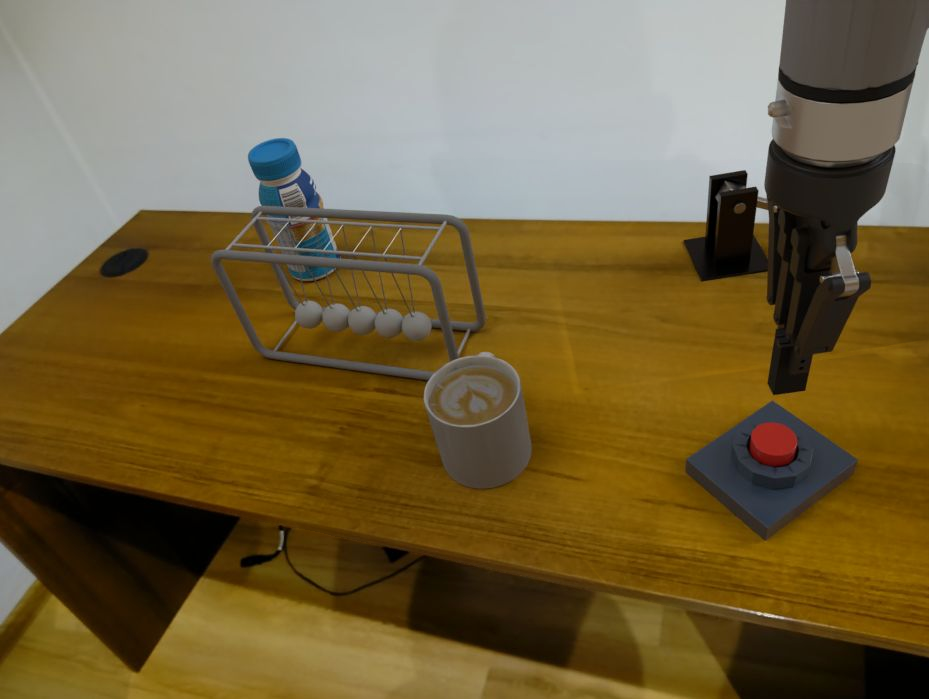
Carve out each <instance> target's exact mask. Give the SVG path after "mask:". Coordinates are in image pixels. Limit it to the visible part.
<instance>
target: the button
mask: <svg viewBox="0 0 929 699" xmlns="http://www.w3.org/2000/svg"><path fill="white" fill-rule="evenodd" d="M796 447H797V437H796V435H795V434H794V432H793V431H792V430H791V429H789V428H788V427H786V426H784V425H782V424H779V423H763V424H761V425H759V426H757V427H756V428H755V429H754V430H753V432H752V434H751V440H750V452H751V454H752V456H753V457H754V458H755V459H756V460H757V461H758V462H760V463H762V464H764V465H767V466H771V467H780V466H784V465H787V464H788V463H790V462H791V461H792V460H793V458H794V456H795V452H796Z"/></svg>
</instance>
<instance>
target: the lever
mask: <svg viewBox="0 0 929 699" xmlns="http://www.w3.org/2000/svg"><path fill="white" fill-rule="evenodd" d="M744 188H747V186H746V187H745V186H744V185H740V184H736V183H732V182H728V181H724V182H723V184H722V186H721V188H720V189H719V191H718V193H717V195H716V196H715V197H716V199H717V201H718V198H719V192H725V191H731V190H738V189H744ZM757 208H758V209H761V210H766V211H768V202H767V197H761V196H758V200H757ZM757 208H756V209H757Z"/></svg>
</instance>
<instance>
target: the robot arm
mask: <svg viewBox="0 0 929 699" xmlns="http://www.w3.org/2000/svg"><path fill="white" fill-rule="evenodd" d="M783 16H784V17H783V26H782V37H781V44H780V48H781V49H780V56H779V64H778V73H777V74H778V75H777V82H776V91H775V101H772V102H769V104H768V105H767V115H768V116H769V117H770V118H772V123H771V131H770V132H771V138H772V139H771V140H770V142H769V145H768V150H767V159H766V166H765V174H764V182H763V183H764V184H763V186H764V192H765V194H766V196H765V198H766V199H767V202H768V210H767V211H768V212H767V213H768V240H767V241H768V242H767V244H768V245H767V258H768V271H767V274H766V275H767V278H766V279H767V281H766V302H767V303H768V305H769V306H774V309H773V314H772V315H773V321H774V324H775V325H776V326H777V327H776V328H775V333H774V339H773V345H772V352H771V358H770V362H769V363H770V364H769V370H768V376H767V385H768V388H769V390H770V392H771V394H772V395H773V396H777V395H779V396H780V395H787V394H792V393H793V394H794V393H800V392H805V391H806V389H807V384H808V380H809V375H810V371H811V365H812V361H813V356H814V355H818V354H824V353H831V352H833V351H834V349H835V348H836V345H837V343H838V340H839V339H840V336H841V335H842V333H843V331H844V328H845V326H846V324H847V322H848V321H849V320H848V319H849V318H850V316H851V314H852V312H853V311H854V307H855V306H856V304H857V302H858V300H859V297H861V296H862V295H863V294H865V293H866V292H868V291H869V290H870V289H871V287H872V277H871V275H870V274H869V272H867V271H862V272H859V270H857V269H855V265H854V260H853V258H852V253H854V251H855V250H856V249H857V246H858V238H859V237H858V225H859V223H858V222H859V220H860V219H861V218H862V217H863V216H864V215H866V213H868V212H869V211H870V210H872V209H873V208H874V207H875V206H876V205H878V204H879V203H880V202H881V200H882V199H883V198H884V196H885V194H886V190H887V187H888V184H889V180H890V176H891V172H892V168H893V165H894V164H893V163H894V160H895V156H896V144H897V143H898V142H899V141H900V139H901V135H902V132H903V126H904V122H905V119H906V114H907V110H908V105H909V101H910V97H911V93H912V88H913V85H914V81H915V77H916V71H917V67H918V65H919V60H920V56H921V52H922V49H923V45H924V41H925V38H926V36H927V32H928V30H929V0H785V6H784V15H783Z"/></svg>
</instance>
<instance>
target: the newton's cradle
mask: <svg viewBox="0 0 929 699" xmlns="http://www.w3.org/2000/svg"><path fill="white" fill-rule="evenodd" d="M250 214H251V216H250V218H251V221H249V223H247V225H246V226H245V227H244V228H243V229H242V230H241V231H240V232H239V233H238V235H237V236H236V237H235V238H234V239H233V240H232V242H230V243H229V245H227V247H226V248H225V249H218V250H215V251H214V252H213V253H212V254H211V256H210V265H211V267H212V269H213V271H214V273H215V275H216V277H217V279H218V281H219V283H220V285H221V287H222V289H223V290H224V292H225V295H226V297H227V299H228V300H229V303H230V304H231V306H232V308H233V310H234V313H235V315H237V318H238V320H239V322H240V325H241V326H242V328H243V331H244V332H245V335H246V336H247V338H248V340H249V342H250V344H251V346H252V347H253V349H254V350H255V351H256V352H257V353H258V354H260V355H261V356H263V357H264V358H266V359H270V360H277V361H284V362H291V363H299V364H305V365H313V366H320V367H328V368H334V369H342V370H350V371H356V372H364V373H371V374H376V375H377V374H378V375H385V376H393V377H399V378H406V379H414V380H421V381H427V382H428V381H429V379H430V378H431V376H432V375H433V374H434V373H435V372H436V371H429V370H422V369H416V368H415V369H414V368H406V367H398V366H391V365H385V364H377V363H368V362H360V361H353V360H347V359H337V358H331V357H324V356H317V355H310V354H309V355H308V354H300V353H294V352H285V351H279V349H280V348H281V346H282V345H283V343H284V342H285V340H287V338H288V336H289V335H290V334H291V332H292V331H293V329H294V328H295V326H296V325H297V324H298V325H299V326H300V327H301V328H304V329H308V330H313V329H315V328H317V327H319V326H320V325H321V324H322V323H323V325H324V327H325V328H326V329H328V331H330V332H334V333H341V332H343V331H346V329H348V328H350V330H351V331H352V332H353V333H355V334H356V335H358V336H359V335H360V336H366V335H369V334H371V333H373V332H374V330H375V331H376V333H377V334H378V335H379V336H381V338H382V337H383V338H386V339H393V338H396V337H399V335H400V334H401V333H403V335H404V336H405V338H407V340H409V341H412V342H422V341H424V340H426V339H427V338H428V337H429V336H430V334H431V332H432V328H435V329H441V331H442V336H443V340H444V342H445V344H444V345H445V347H446V351H447V355H448V358H449V359H448V360H449V362H451V361H453V360H456V359H459V358H460V354H461V353H462V350H463V348H464V346H465V344H466V341H467V339H468V337H469V335H470V333H471V332H478V331H481V330H482V329H483V328H484V327H485V325H486V323H487V316H486V312H485V305H484V302H483V296H482V291H481V286H480V281H479V276H478V271H477V266H476V265H477V264H476V261H475V256H474V251H473V250H474V249H473V244H472V241H471V240H472V239H471V236H470V231H469V229H468V226H467V225H466V223H465V222H464V221H463V220H461V219H460V218H459V217H457V216H455V215H453V214H452V215H451V214H444V213H443V214H442V213H422V212H403V211H402V212H401V211H383V210H381V211H379V210H362V209H361V210H360V209H359V210H358V209H340V208H324V209H321V208H300V207H280V206H262V205H258V206H256V207H255V208H253V210H252V212H251V213H250ZM265 215H278V216H297V217H315V218H327V219H333V220H328V221H322V220H303V219H285V218H267V217H265ZM334 219H335V220H334ZM336 219H337V221H336ZM339 220H340V221H339ZM341 220H353V221H341ZM358 220H359V221H371V222H354V221H358ZM262 221H266V222H267V221H281V222H287V224H288V227H289V232H290V236H291V240H292V245H293V248H290V247H279V246H277V245H276V246H273V244H272V243H273V242H274V240H276V237H277V235H278V234H279V233H280V232H281V231H282V230H283V228H284V227H285V226H286V225H287V224H286V225H285V226H284V227H283V228H282V229H281V231H280V232H279V233H278V234H277V235H276V237H275V236H274V238H273V239H272V240H270V238H269V235H268V233H267V230H266V228H265V226H264V224H263V222H262ZM372 221H374V223H373V222H372ZM289 222H299V223H315V224H314V225H315V230H316V234H317V238H318V242H319V247H320V250H318V249H304V248H296V247H297V246H298V245H299V244H300V242H301V241H302V240H303V239H304V237H305V236H306V235H307V234H308V232H309V231H310V230H311V229H312V228H313V226H314V225H313V226H312V227H311V229H310V230H309V231H308V232H307V234H306V235H305V236H304V237H303V239H302V240H301V241H300V242H299V244H298V245H297V246H296V247H295V248H294V243H293V239H292V235H291V230H290V226H289ZM375 222H393V223H394V224H393V223H392V224H390V223H375ZM395 223H407V224H395ZM408 223H409V225H408ZM410 223H412V224H429V225H430V226H428V225H427V226H426V225H410ZM316 224H329V225H333V226H334V225H337V226H340V228H339V229H338V230H337V232H336V233H335V234H334V235H333V238H334V239H335V237H336V236H337V235H338V233H339V232H340V230H341V229H342V234H343V239H344V243H345V247H346V251H345V250H339V251H332V250H325V249H326V247H327V246H328V245H329V243H330V242H331V241H332V239H333V238H332V239H331V241H330V242H329V243H328V245H327V246H326V247H325V248H324V250H322V249H321V245H320V241H319V237H318V232H317V228H316ZM431 224H432V225H440V226H431ZM252 226H253V228H254V229H255V232H256V234H257V236H258V238H259V241H260V243H261V244H249V243H248V244H247V243H237V242H238V241H239V240H240V239H242V237H243V236H244V234H246V233H247V232H248V230H250V228H251V227H252ZM344 226H350V227H351V226H352V227H353V226H354V227H369V228H368V230H367V231H366V232H365V234H364V235H363V237H362V238H361V240H359V243H358V244H357V245H356V247H355V248H354V249H353V251H349V246H348V241H347V237H346V232H345V228H344ZM446 226H451V227H453V228H454V229H456V230H457V232H458V234H459V240H460V243H461V248H462V254H463V258H464V264H465V267H466V272H467V277H468V282H469V287H470V292H471V297H472V300H473V306H474V310H475V315H476V321H475V322H467V321H455V320H451V319H450V315H449V310H448V307H447V302H446V299H445V294H444V290H443V287H442V283H441V280H440V278H439V276H438V275H437V274H436V273H435V271H434V270H432V269H431V268H429V267H427V266H425V265H423V264H424V262H425V261H426V259H427V258H428V256H429V254H430V252H431V251H432V249H433V247H434V245H435V244H436V242H437V241H438V239H439V237H440V236H441V234H442V233H443V231H444V229H445V227H446ZM373 228H385V229H387V228H388V229H398V230H397V232H396V234H395V235H394V237H393V239H392V240H391V241H390V243H389V245H388V246H387V247H386V249H385V251H384V252H383V253H377V248H376V247H377V246H376V242H375V236H374V232H373ZM402 229H405V230H406V229H407V230H423V231H424V230H426V231H437V232H436V233H435V236H433V239H432V240H431V242H430V244H429V245H428V247H427V248H426V250H425V251H424V254H423V255H422V256H413V255H406V250H405V244H404V238H403V232H402ZM369 232H371V238H372V244H373V248H374V253H371V252H359V251H356V250H357V248H358V247H359V246H360V244H361V243H362V241H363V240H364V239H365V237H366V236H367V234H368V233H369ZM399 233H400V238H401V245H402V251H403V255H400V254H399V255H398V254H386V252H387V251H388V249H390V246H391V245H392V243H393V242H394V240H395V239H396V237H397V236H398V234H399ZM232 248H246V249H258V250H259V249H260V250H264V252H260V251H247V250H246V251H245V250H235V249H234V250H232ZM281 250H285V251H294V253H295V255H287V254H282V253H276V252H275V251H281ZM295 251H297V253H298V255H296V252H295ZM299 252H312V253H321V255H322V257H313V256H301V255H300V254H299ZM322 253H325V255H326V256H327V254H339V255H340V256H348V258H341V259H340V258H329V257H328V256H327V258H326V257H323V254H322ZM351 256H353V257H354V258H355V259H353V258H352V259H351ZM358 257H368V258H375V260H366V259H365V260H364V259H358ZM378 258H379V259H381V258H383V259H384V261H379V259H378ZM388 259H394V260H404V262H389V261H388ZM221 260H228V261H240V262H241V261H243V262H252V263H266V264H270V266H271V268H272V271H273V272H274V275H275V277H276V279H277V280H276V281H277V282H278V284H279V287H280V289H281V291H282V293H283V295H284V298H285V300H286V302H287V304H288V305H289V306H290V307H291V308H292V309H294V319H295V320H294V322H293V323H292V324H291V326H290V327H289V328H288V329H287V331H286V333H285V334H284V336H283V337H282V338H281V339H280V341H279V342H278V343H277V345H276V346H275V347H274V349H273V350H272V349H269V348H267V347H266V346H264V345H263V344H262V342H261V340H260V338H259V336H258V334H257V332H256V330H255V328H254V326H253V324H252V323H251V320H250V318H249V316H248V314H247V312H246V310H245V308H244V306H243V304H242V302H241V300H240V298H239V296H238V294H237V292H236V290H235V287H234V286H233V284H232V282H231V280H230V278H229V276H228V274H227V272H226V270H225V268H224V266H223V264H222V262H221ZM407 260H408V261H409V260H410V261H419V262H418V263H417V264H416V263H408V262H407ZM287 264H289V265H297V266H298V271H299V275H300V280H301V281H300V280H299V281H300V283H301V284H300V285H301V288H302V292H303V296H304V301H303V300H302V298H301V297H300V295H299V294H298V292H297V291H296V289H295V287H294V286H293V284H292V282H291V281H290V279H289V277H288V276H287V273H286V272H285V271H284V269H283V267H282V265H287ZM299 265H301V266H306V268H307V270H308V271H309V273H310V275H311V276H312V274H311V272H310V270H309V269H308V267H307V266H313V267H324V268H325V272H326V280H327V285H328V288H329V293H330V297H331V301H332V304H330V302H329V300H328V299H327V297H326V296H325V294H324V292H323V290H322V288H321V287H320V285H319V284H318V282H317V280H315V279H314V277H313V276H312V278H313V280H314V283H315V285H316V287H317V289H318V290H319V291H320V293H321V295H322V296H323V298H324V300H325V301H326V303H327V305H328V306H326V307H322V306H321V305H320V304H319V303H318V302H317V301H315V300H307V297H306V292H305V288H304V283H303V281H302V278H301V274H300V270H299ZM326 268H333V269H334V273H335V275H336V276H337V279H338V280H339V282H340V284H341V285H342V287H343V290H344V291H345V292H346V294H347V296H348V298H349V300H350V302H351V304H352V305H353V309H352V310H351V309H349V308H348V307H347V306H346V305H345V304H342V303H335V302H334V301H335V300H334V296H333V293H332V289H331V284H330V280H329V275H327V271H326ZM335 268H337V269H339V270H351V275H352V279H353V285H354V289H355V294H356V299H357V304H358V306H356V304H355V303H354V301H353V299H352V297H351V295H350V294H349V292H348V289H347V288H346V286H345V284H344V283H343V281H342V279H341V278H340V275H339V274H338V272H337V269H336V270H335ZM354 271H361V272H362V274H363V277H364V278H365V280H366V282H367V284H368V286H369V288H370V291H371V292H372V294H373V296H374V298H375V299H376V302H377V304H378V305H379V308H380V309H381V311H379V312H375V311H374V310H373V309H372V308H371V307H369V306H366V305H361V303H360V298H359V294H358V289H357V285H356V279H355V274H354ZM365 272H375V273H378V274H379V280H380V286H381V291H382V296H383V302H384V306H385V309H383V307H382V304H381V303H380V300H379V299H378V296H377V295H376V292H375V291H374V289H373V287H372V285H371V283H370V281H369V278H368V277H367V275H366V273H365ZM381 273H387V274H391V276H392V278H393V280H394V282H395V285H396V286H397V288H398V291H399V293H400V295H401V298H402V300H403V301H404V303H405V304H404V305H405V306H406V308H407V310H408V312H409V313H407V314H406V315H402V314H401V313H400V312H399V311H398V310H396V309H393V308H388V306H387V302H386V296H385V295H386V294H385V290H384V285H383V280H382V274H381ZM394 274H398V275H399V274H400V275H401V274H402V275H406V276H407V281H408V287H409V294H410V299H411V305H412V311H411V310H410V307H409V305H408V303H407V301H406V299H405V297H404V296H405V295H404V294H403V291H402V290H401V288H400V286H399V284H398V281H397V279H396V277H395V275H394ZM410 275H412V276H418V277H419V276H420V277H422V278H424V279H425V280H426V281H427V282H428V283H429V286H430V289H431V292H432V293H431V294H432V297H433V300H434V304H435V308H436V309H435V310H436V312H437V316H438V319H437V318H430V317H429V316H428V315H427V314H426V313H425V312H422V311H415V310H416V309H415V304H414V298H413V293H412V292H413V291H412V287H411V281H410ZM290 286H291V287H290ZM291 288H292V290H293V291H292V290H291ZM293 292H294V293H295V295H296V296H297V299H298V300H299V301H300V302H299V301H297V299H296V298H295V296H294V293H293ZM453 331H462V332H465V335H464V337H463V338H462V341H461V342H460V345H459V347H458V348H457V344H456V340H455V335H454V332H453Z"/></svg>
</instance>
